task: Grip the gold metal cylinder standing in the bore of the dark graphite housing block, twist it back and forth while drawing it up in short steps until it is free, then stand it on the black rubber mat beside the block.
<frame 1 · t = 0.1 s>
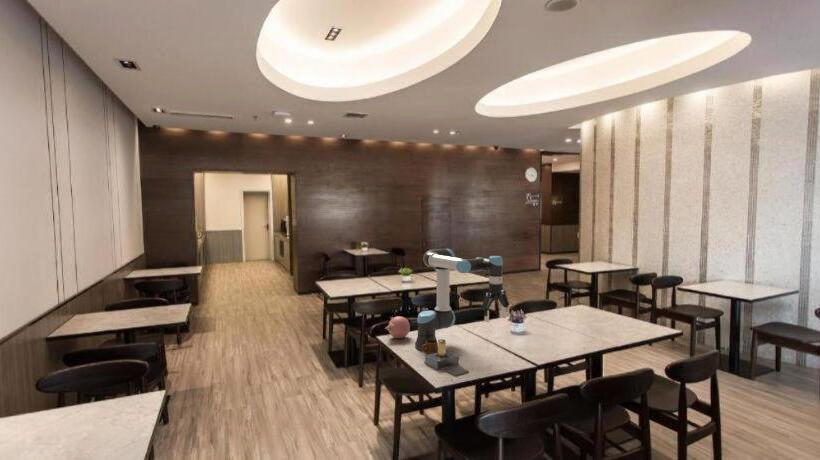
hand: (495, 319, 230), 28 cm above the table, tool pointing down, fingers open, 13 cm apart
housing: (441, 363, 237), on the table
gold metal cylinder: (441, 352, 237), in the housing
balloon: (396, 338, 283), on the table
mat: (456, 371, 226), on the table
mug: (428, 357, 248), on the table
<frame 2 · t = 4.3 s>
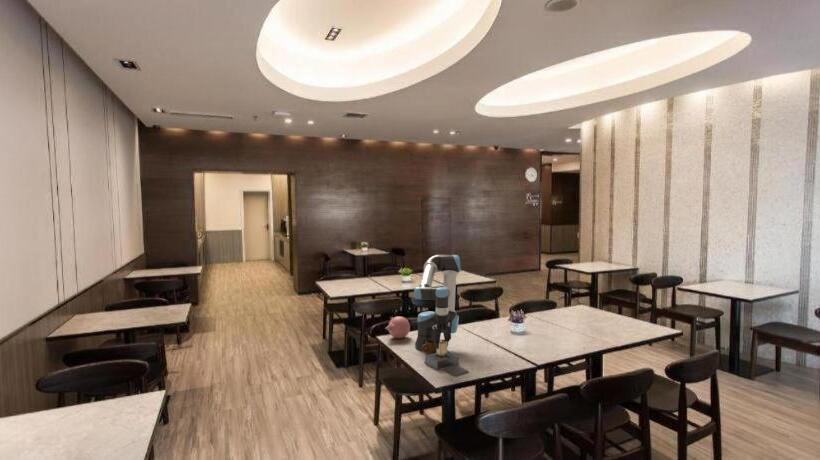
hand: (441, 352, 237), 7 cm above the table, tool pointing down, fingers closed on gold metal cylinder, 4 cm apart
gold metal cylinder: (441, 352, 237), in the housing, touching gripper
everything else where it was.
when the fingers open (9 cm above the table, at t = 11.8 s): gold metal cylinder drops 2 cm, resting on mat.
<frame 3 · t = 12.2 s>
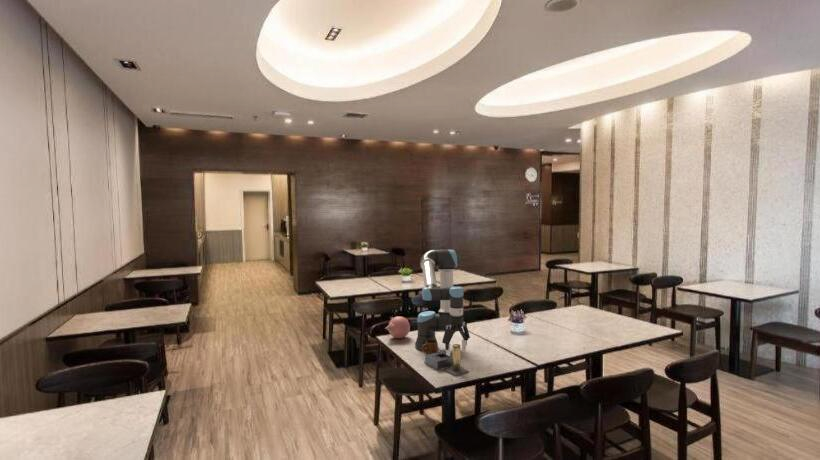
hand: (456, 353, 226), 10 cm above the table, tool pointing down, fingers open, 11 cm apart
gold metal cylinder: (456, 357, 226), on the mat, point 8 cm above the table
everything else where it was.
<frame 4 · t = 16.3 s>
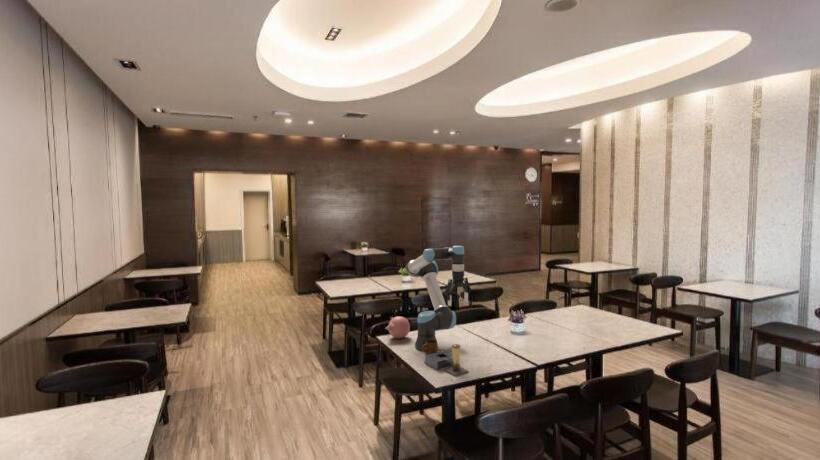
hand: (457, 304, 252), 32 cm above the table, tool pointing down, fingers open, 13 cm apart
nothing on the table moved.
at the end: gold metal cylinder 0.0 cm off-centre on the mat, point 7.8 cm above the mat's base; gold metal cylinder tilted 0°; the gripper is holding nothing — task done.
